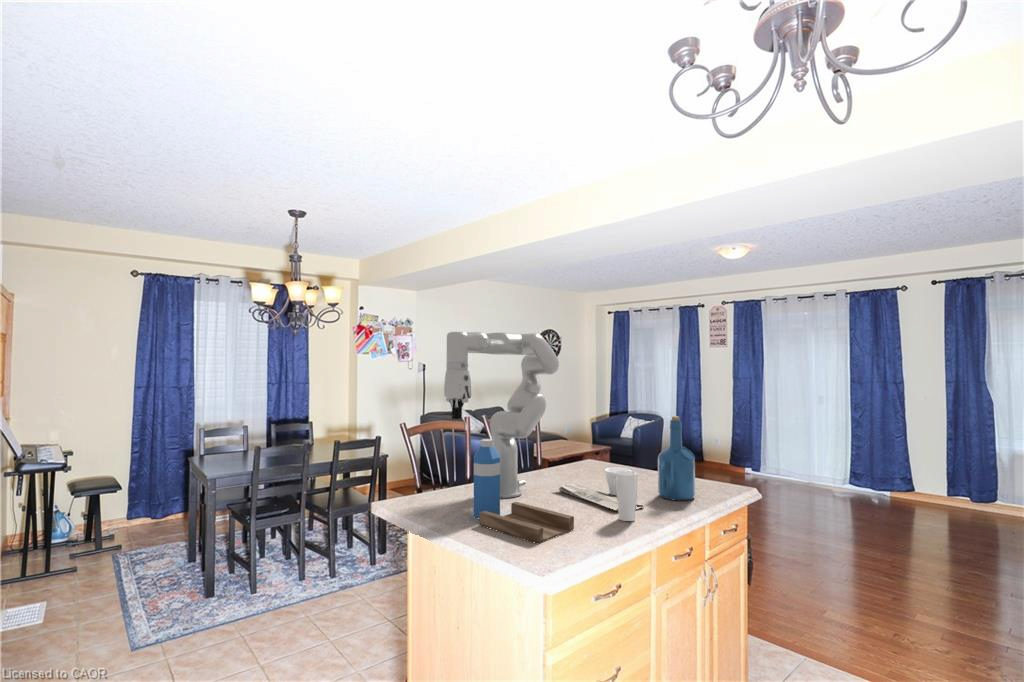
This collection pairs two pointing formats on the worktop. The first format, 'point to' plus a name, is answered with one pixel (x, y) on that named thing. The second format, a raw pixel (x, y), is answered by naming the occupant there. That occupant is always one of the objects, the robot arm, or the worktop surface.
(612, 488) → the cup
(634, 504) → the drinking glass
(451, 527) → the worktop surface
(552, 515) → the u rest
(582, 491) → the newspaper
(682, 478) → the wine bottle
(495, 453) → the water bottle
